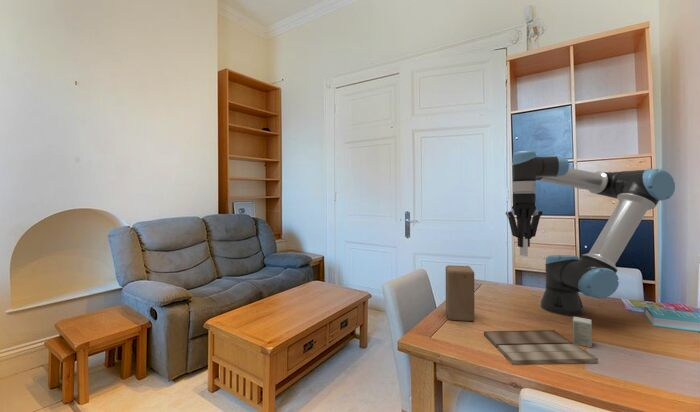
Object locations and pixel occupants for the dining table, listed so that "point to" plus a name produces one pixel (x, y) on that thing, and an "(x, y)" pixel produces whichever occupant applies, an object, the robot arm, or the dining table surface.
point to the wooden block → (460, 293)
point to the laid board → (546, 354)
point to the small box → (582, 331)
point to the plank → (525, 337)
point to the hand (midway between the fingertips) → (523, 255)
